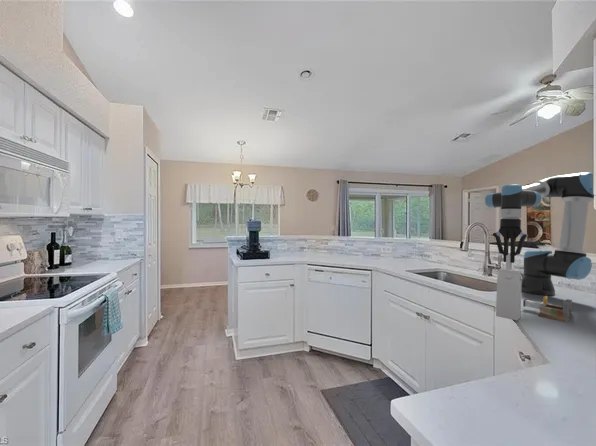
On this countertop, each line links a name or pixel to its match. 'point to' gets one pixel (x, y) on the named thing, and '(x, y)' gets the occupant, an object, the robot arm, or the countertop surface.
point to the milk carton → (508, 294)
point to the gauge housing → (557, 311)
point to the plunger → (535, 303)
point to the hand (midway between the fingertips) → (508, 269)
